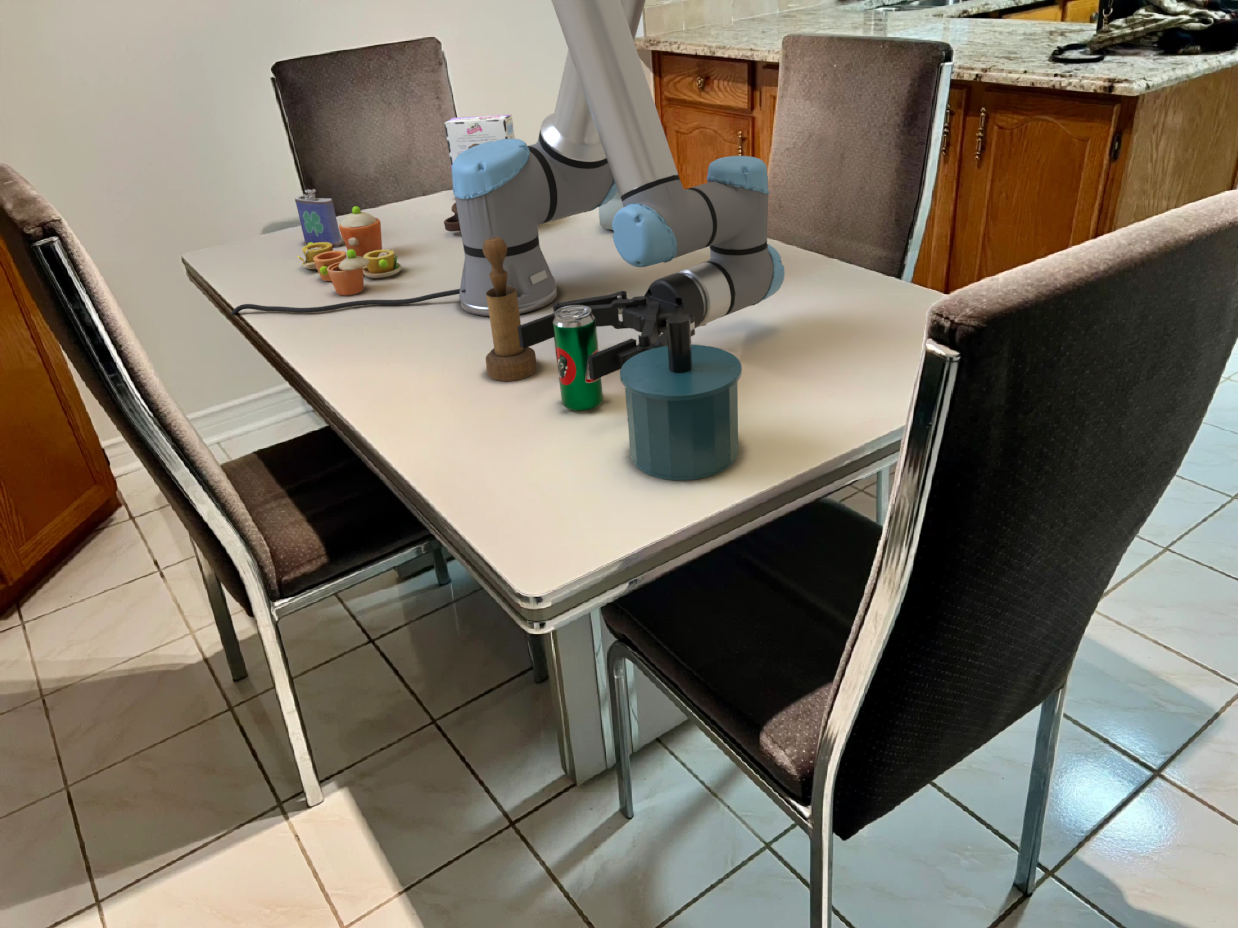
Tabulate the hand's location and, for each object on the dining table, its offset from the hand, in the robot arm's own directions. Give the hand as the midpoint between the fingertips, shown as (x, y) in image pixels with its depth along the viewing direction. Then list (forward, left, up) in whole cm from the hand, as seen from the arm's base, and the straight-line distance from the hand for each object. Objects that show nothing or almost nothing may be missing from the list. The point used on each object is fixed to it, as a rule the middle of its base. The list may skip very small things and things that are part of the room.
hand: (553, 352), depth 109 cm
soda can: (+1, +3, -8) cm, 9 cm away
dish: (-51, +69, -8) cm, 86 cm away
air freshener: (-26, +73, -8) cm, 78 cm away
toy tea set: (-62, +38, -8) cm, 73 cm away
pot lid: (+18, -4, +2) cm, 18 cm away
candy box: (-67, +90, -8) cm, 112 cm away
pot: (+18, -4, -8) cm, 20 cm away
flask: (-81, +51, -8) cm, 96 cm away
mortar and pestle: (-12, +9, -8) cm, 17 cm away
